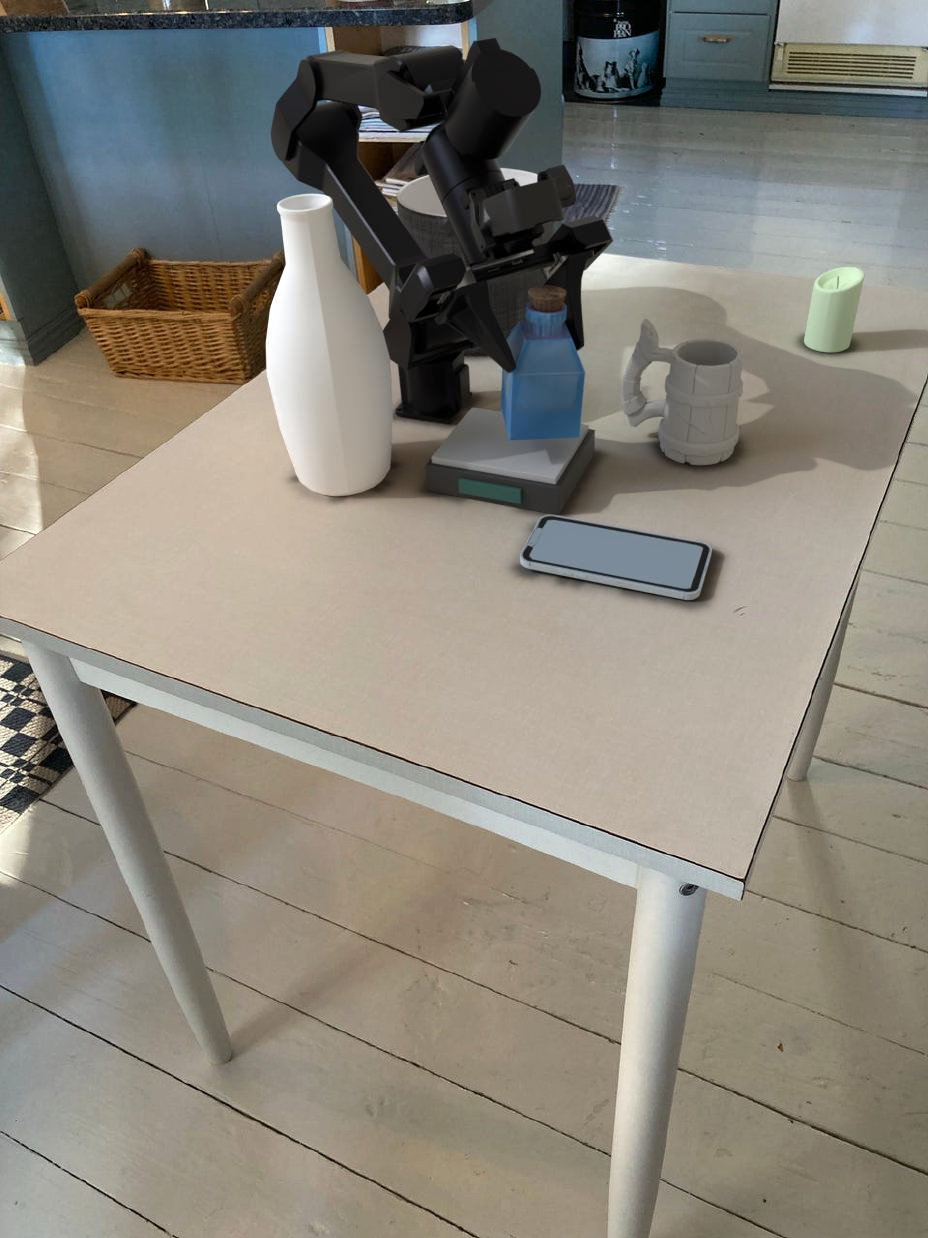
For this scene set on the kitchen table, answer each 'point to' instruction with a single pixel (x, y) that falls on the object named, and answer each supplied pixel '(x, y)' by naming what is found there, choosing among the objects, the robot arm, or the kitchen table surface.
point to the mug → (688, 396)
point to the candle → (833, 309)
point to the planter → (426, 227)
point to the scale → (508, 464)
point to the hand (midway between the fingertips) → (546, 359)
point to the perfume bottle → (543, 372)
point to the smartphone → (617, 556)
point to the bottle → (327, 359)
